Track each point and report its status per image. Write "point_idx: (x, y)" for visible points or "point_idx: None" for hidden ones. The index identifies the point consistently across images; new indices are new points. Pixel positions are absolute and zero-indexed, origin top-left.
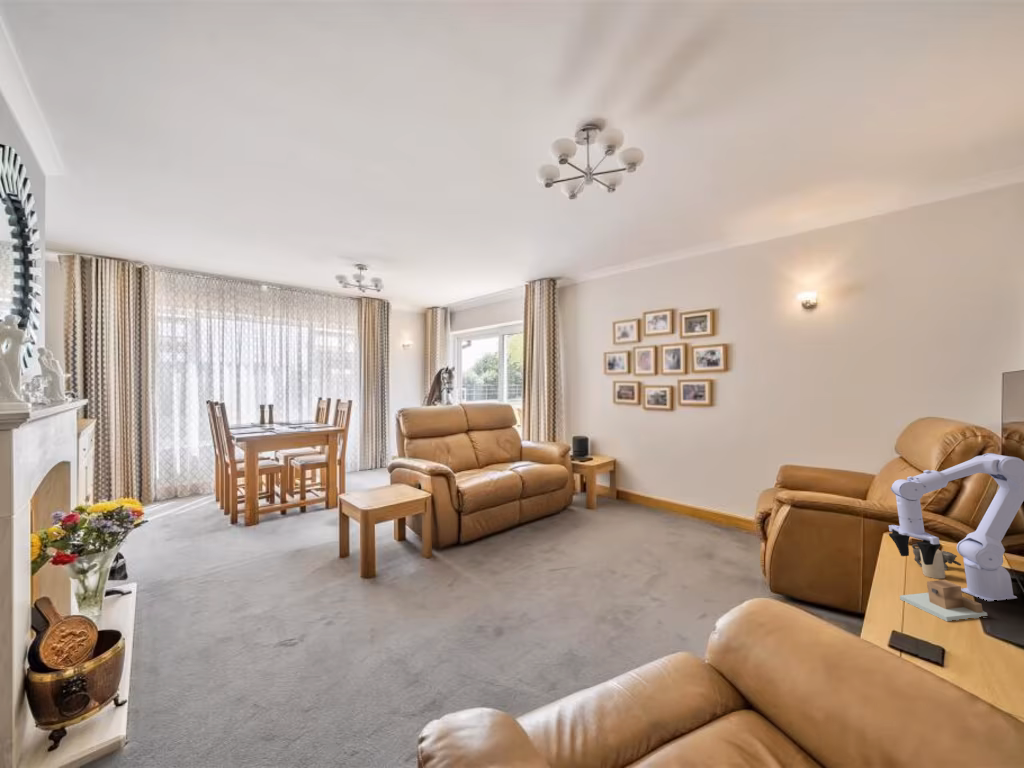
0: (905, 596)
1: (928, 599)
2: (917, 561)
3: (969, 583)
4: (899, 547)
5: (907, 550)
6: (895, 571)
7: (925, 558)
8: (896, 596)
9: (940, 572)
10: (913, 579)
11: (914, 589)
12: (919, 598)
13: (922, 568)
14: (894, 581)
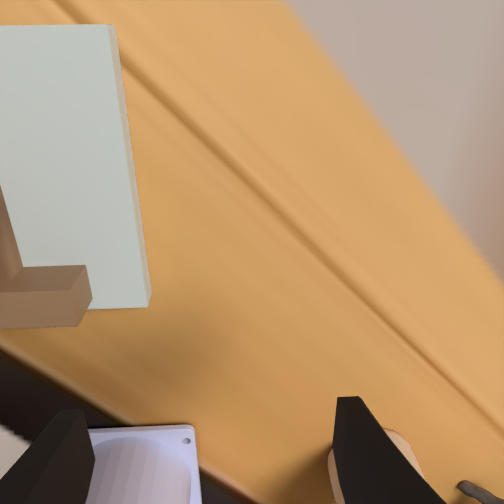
0: (85, 54)
1: (30, 170)
2: (494, 501)
3: (132, 481)
4: (379, 479)
5: (348, 500)
6: (484, 354)
7: (10, 472)
8: (170, 48)
9: (335, 485)
10: (366, 352)
11: (250, 254)
12: (48, 126)
13: (408, 459)
14: (380, 243)
